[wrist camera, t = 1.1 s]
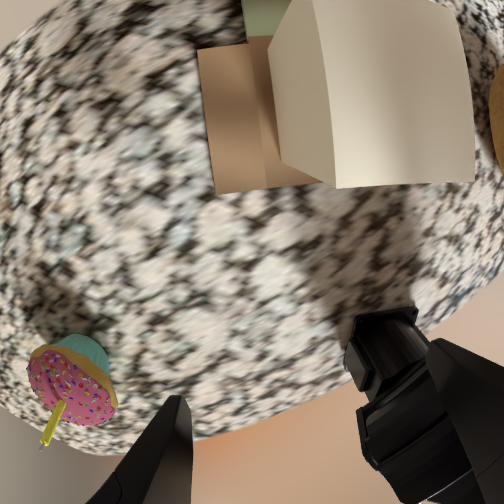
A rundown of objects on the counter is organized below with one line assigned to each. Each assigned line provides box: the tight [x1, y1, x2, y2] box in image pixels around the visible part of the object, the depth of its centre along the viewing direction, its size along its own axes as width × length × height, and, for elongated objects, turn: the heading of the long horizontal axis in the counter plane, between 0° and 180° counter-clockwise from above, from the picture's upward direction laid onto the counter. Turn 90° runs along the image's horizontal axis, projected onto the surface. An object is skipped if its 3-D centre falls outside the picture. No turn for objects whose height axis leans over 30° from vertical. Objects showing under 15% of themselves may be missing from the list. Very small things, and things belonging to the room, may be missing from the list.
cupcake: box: [26, 334, 118, 451], centre depth 16 cm, size 9×8×12 cm
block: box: [267, 0, 475, 189], centre depth 11 cm, size 7×6×9 cm
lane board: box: [197, 0, 324, 195], centre depth 13 cm, size 15×16×3 cm
